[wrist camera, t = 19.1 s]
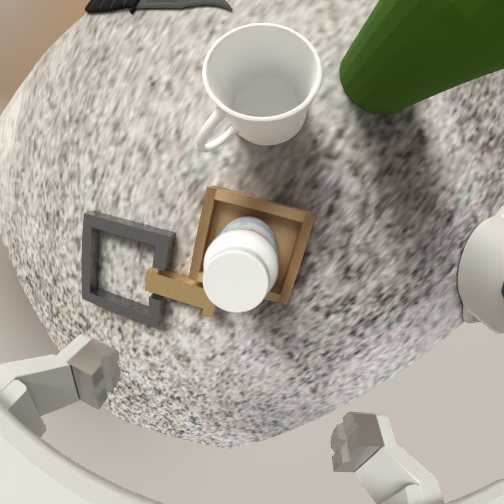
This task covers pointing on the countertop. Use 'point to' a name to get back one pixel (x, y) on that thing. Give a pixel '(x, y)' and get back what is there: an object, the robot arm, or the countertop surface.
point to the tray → (272, 213)
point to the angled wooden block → (179, 289)
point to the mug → (260, 84)
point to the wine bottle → (421, 51)
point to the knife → (148, 4)
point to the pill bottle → (241, 265)
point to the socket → (90, 265)
